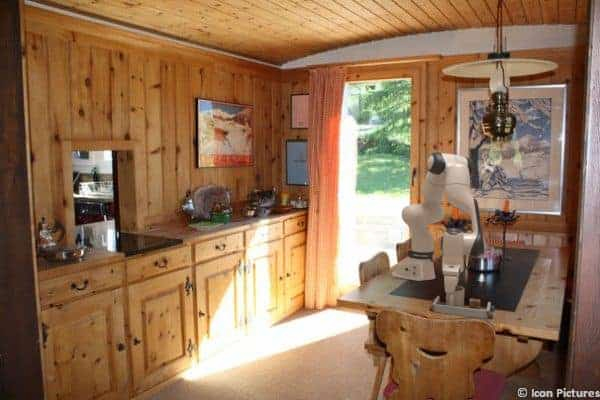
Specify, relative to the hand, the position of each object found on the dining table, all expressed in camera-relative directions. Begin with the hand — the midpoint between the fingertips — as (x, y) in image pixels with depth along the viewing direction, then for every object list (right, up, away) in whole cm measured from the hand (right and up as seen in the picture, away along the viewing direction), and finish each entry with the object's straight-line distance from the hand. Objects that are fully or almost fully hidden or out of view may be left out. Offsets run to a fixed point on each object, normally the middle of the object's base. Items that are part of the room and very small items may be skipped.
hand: (451, 297), depth 216 cm
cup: (-1, -4, -6) cm, 7 cm away
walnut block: (+7, -5, -8) cm, 12 cm away
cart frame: (+2, -4, -6) cm, 8 cm away
